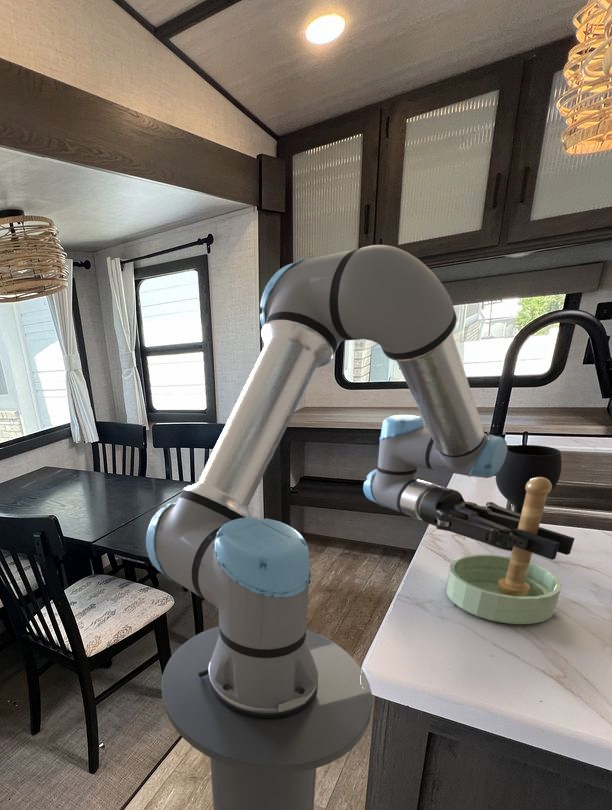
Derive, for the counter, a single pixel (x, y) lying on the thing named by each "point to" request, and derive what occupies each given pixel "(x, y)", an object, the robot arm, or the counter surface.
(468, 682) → the counter surface
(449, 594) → the bowl
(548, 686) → the counter surface
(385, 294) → the robot arm
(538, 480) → the wooden pestle
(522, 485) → the wine glass
